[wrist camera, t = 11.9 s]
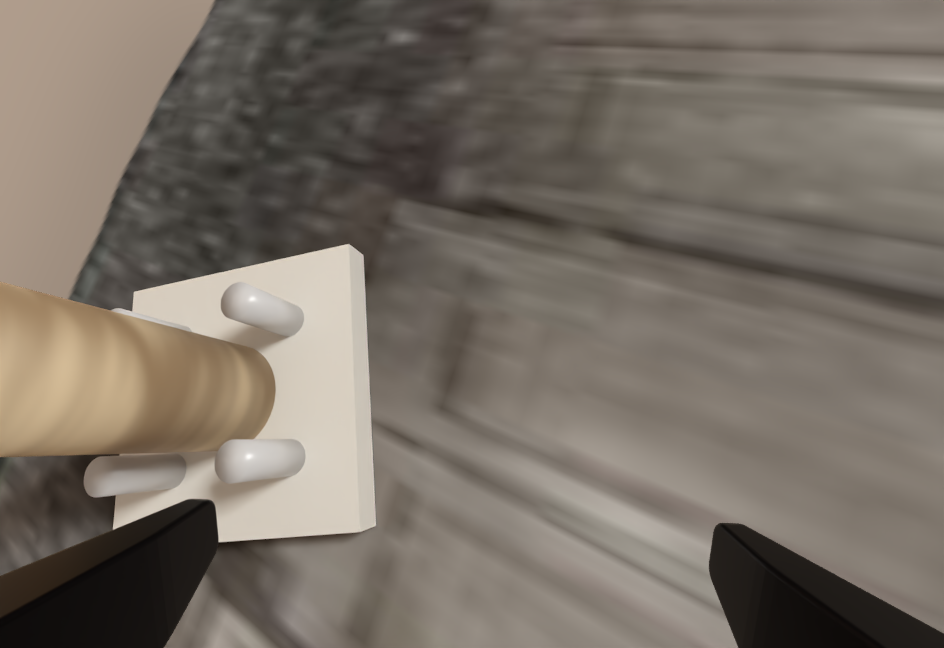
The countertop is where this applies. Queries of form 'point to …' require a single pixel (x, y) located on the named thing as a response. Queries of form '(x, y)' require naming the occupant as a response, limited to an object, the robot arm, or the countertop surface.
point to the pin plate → (294, 412)
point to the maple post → (120, 382)
